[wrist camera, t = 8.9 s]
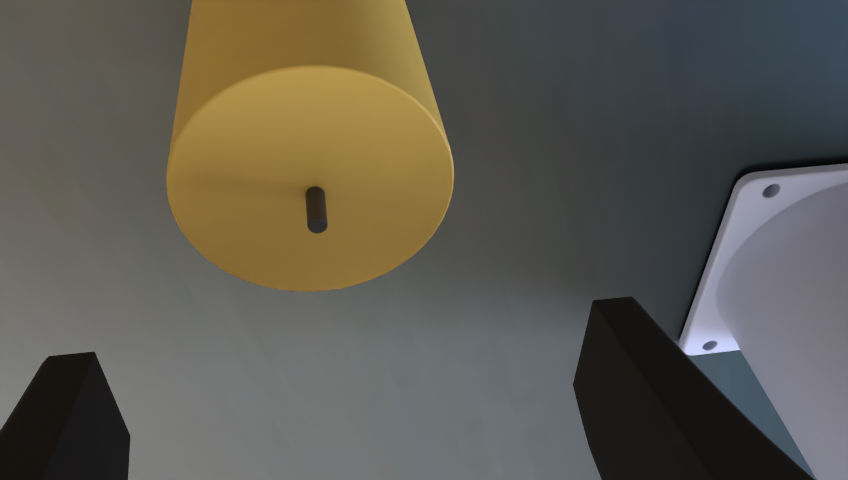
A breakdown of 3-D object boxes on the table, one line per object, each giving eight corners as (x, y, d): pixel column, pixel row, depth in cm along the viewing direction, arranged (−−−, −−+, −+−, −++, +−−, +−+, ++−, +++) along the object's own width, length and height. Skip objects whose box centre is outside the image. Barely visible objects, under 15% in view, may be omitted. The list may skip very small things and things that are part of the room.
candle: (396, -113, 16) (471, 85, 10) (399, 76, 19) (458, 311, 13) (176, -103, 15) (125, 111, 10) (215, 90, 18) (193, 341, 13)
